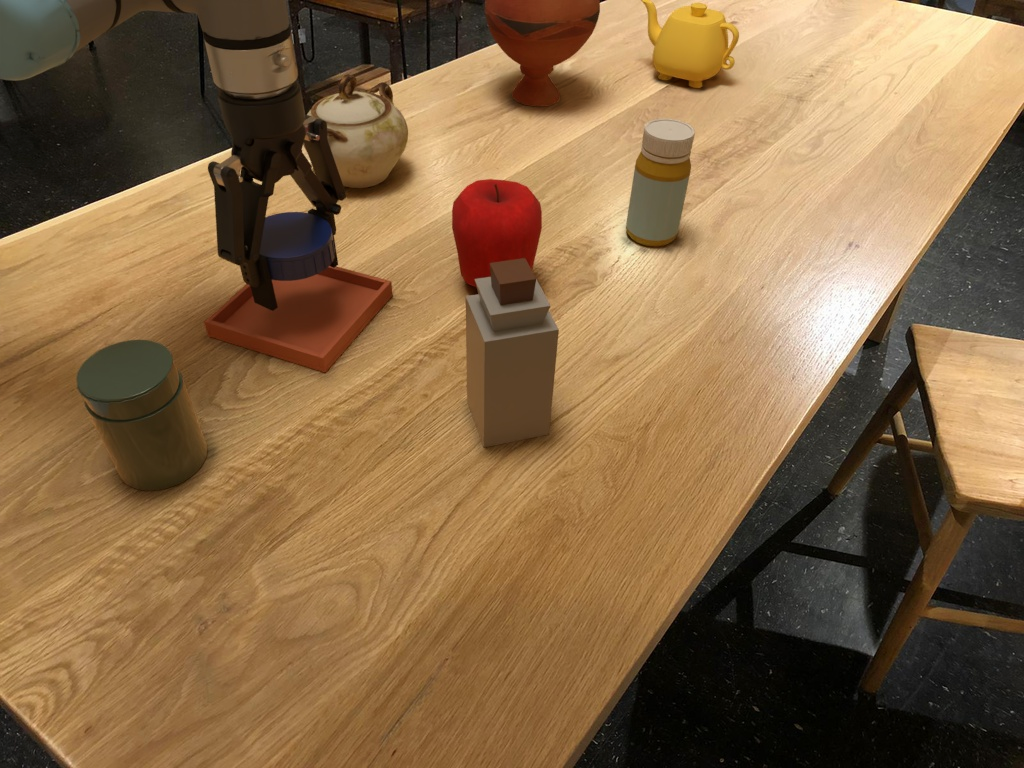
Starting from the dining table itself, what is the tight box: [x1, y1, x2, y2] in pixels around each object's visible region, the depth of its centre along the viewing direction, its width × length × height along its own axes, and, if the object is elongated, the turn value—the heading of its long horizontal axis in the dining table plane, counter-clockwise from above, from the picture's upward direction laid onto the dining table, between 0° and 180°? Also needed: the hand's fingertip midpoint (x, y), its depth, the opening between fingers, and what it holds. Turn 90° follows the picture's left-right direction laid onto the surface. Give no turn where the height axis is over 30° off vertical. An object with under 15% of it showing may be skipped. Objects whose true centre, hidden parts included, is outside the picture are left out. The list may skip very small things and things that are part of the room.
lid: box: [246, 211, 336, 281], centre depth 82 cm, size 9×9×3 cm
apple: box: [451, 178, 543, 289], centre depth 90 cm, size 11×10×14 cm
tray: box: [203, 265, 394, 373], centre depth 88 cm, size 15×15×2 cm
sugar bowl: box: [303, 73, 409, 189], centre depth 109 cm, size 20×15×15 cm
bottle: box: [625, 118, 695, 248], centre depth 99 cm, size 7×7×15 cm
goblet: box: [484, 0, 601, 108], centre depth 128 cm, size 19×19×25 cm
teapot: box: [640, 0, 740, 89], centre depth 142 cm, size 14×20×13 cm
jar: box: [76, 339, 208, 492], centre depth 69 cm, size 8×8×12 cm
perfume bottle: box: [465, 258, 560, 448], centre depth 72 cm, size 7×7×18 cm
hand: (297, 283), depth 86 cm, fingers closed on lid, 9 cm apart
